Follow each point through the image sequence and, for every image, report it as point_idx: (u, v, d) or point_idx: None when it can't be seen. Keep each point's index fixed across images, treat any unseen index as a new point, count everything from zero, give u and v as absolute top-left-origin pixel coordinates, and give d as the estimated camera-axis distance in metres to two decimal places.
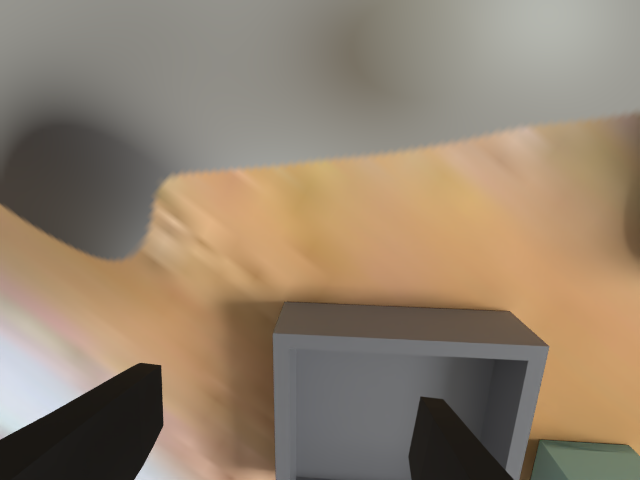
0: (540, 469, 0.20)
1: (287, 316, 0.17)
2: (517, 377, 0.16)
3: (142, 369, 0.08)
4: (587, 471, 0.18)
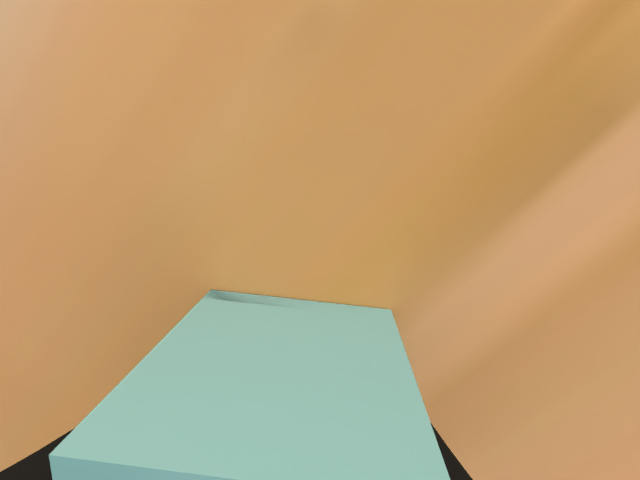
0: None
1: None
2: None
3: None
4: None
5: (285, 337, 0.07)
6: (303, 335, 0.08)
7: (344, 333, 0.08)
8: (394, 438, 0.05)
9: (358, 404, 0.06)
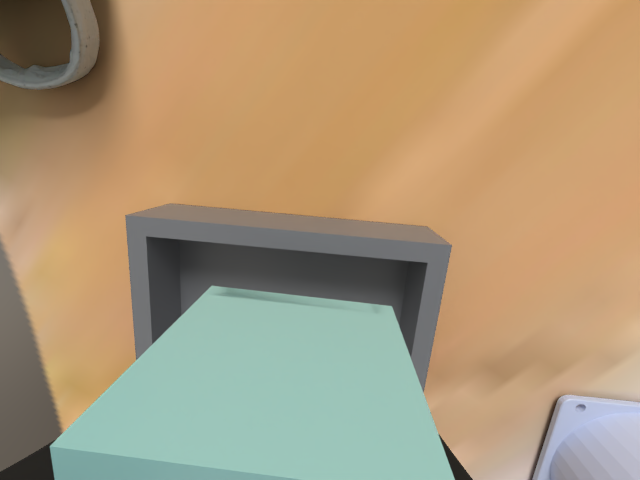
0: None
1: None
2: None
3: None
4: None
5: (286, 333, 0.07)
6: (304, 330, 0.08)
7: (345, 329, 0.08)
8: (396, 432, 0.05)
9: (359, 398, 0.06)
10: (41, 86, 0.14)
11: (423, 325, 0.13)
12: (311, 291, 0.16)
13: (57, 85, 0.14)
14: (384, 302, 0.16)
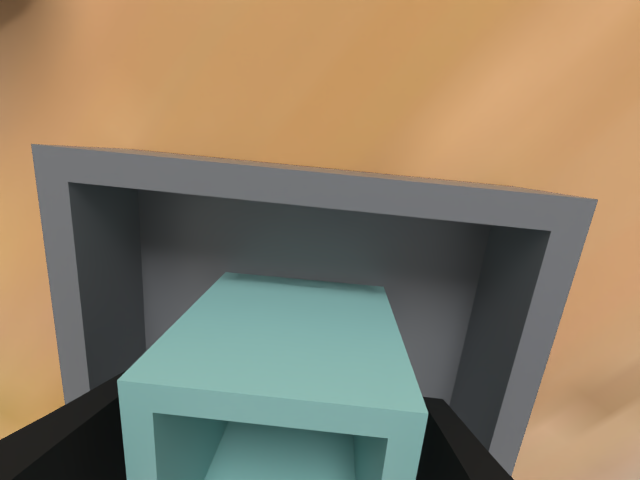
0: None
1: None
2: None
3: None
4: None
5: (292, 307, 0.09)
6: (307, 305, 0.09)
7: (342, 304, 0.09)
8: (381, 373, 0.06)
9: (353, 351, 0.07)
10: None
11: (532, 338, 0.08)
12: None
13: None
14: (446, 300, 0.11)
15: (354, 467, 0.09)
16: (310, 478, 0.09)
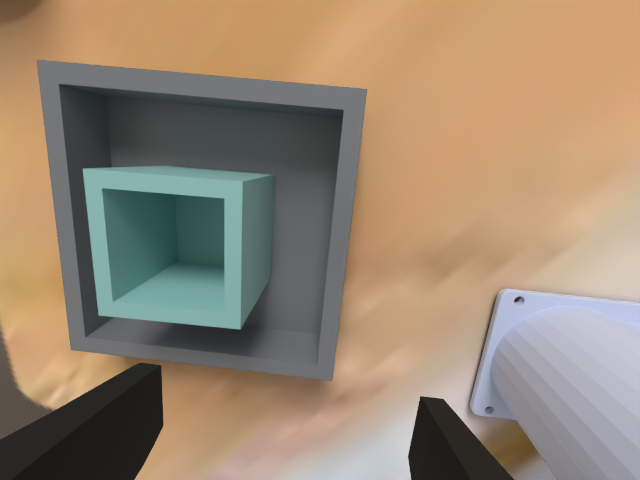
0: None
1: None
2: (101, 89, 0.13)
3: (142, 369, 0.08)
4: None
5: (202, 171, 0.14)
6: (212, 171, 0.14)
7: (236, 173, 0.14)
8: (231, 178, 0.11)
9: (223, 176, 0.12)
10: None
11: (343, 181, 0.13)
12: (243, 171, 0.16)
13: None
14: (317, 183, 0.16)
15: None
16: (215, 283, 0.14)
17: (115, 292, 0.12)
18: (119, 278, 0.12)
